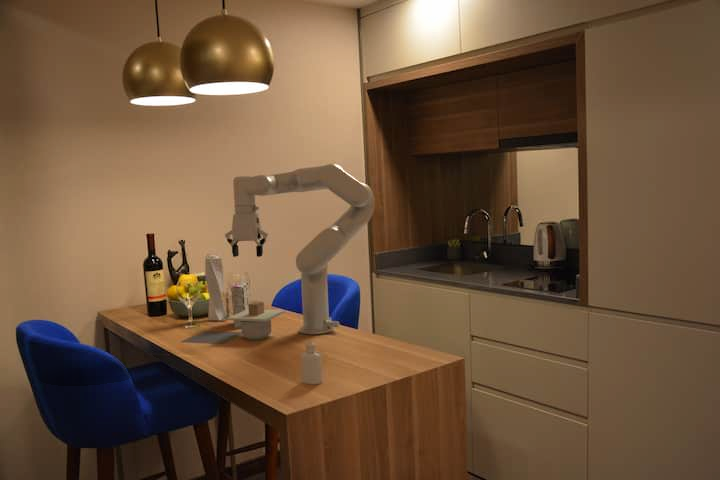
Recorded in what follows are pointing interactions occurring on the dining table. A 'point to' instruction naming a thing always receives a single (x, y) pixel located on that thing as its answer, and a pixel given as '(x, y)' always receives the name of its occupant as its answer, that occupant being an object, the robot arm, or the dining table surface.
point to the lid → (256, 313)
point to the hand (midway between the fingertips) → (247, 256)
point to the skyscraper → (216, 288)
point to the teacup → (256, 329)
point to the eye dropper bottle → (311, 365)
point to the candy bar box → (240, 299)
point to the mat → (213, 337)
